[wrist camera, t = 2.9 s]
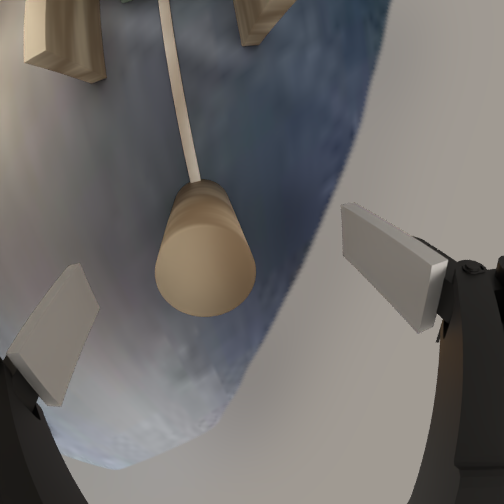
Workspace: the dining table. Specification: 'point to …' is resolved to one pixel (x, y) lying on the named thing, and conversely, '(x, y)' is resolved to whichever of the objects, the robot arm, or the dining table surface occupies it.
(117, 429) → the dining table surface
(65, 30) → the tan wooden arch
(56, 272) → the dining table surface
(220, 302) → the tethered block
